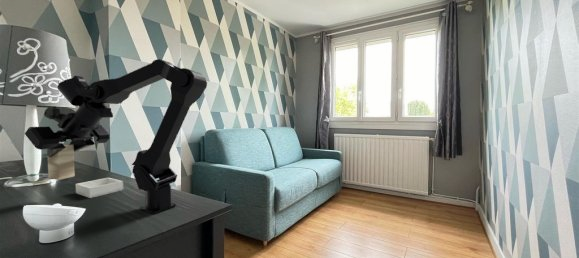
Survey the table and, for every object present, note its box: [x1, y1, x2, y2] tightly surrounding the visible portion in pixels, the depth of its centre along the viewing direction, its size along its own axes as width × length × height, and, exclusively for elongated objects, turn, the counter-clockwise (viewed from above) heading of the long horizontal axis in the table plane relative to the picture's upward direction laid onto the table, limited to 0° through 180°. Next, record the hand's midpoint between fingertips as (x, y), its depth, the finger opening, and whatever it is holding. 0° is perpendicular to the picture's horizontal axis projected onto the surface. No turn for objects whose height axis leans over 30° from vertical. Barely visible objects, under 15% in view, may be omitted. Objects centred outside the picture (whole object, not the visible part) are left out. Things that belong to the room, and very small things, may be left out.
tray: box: [75, 177, 124, 199], centre depth 78 cm, size 9×9×3 cm
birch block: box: [47, 143, 76, 181], centre depth 70 cm, size 4×4×10 cm
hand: (57, 155), depth 70 cm, fingers closed on birch block, 4 cm apart
